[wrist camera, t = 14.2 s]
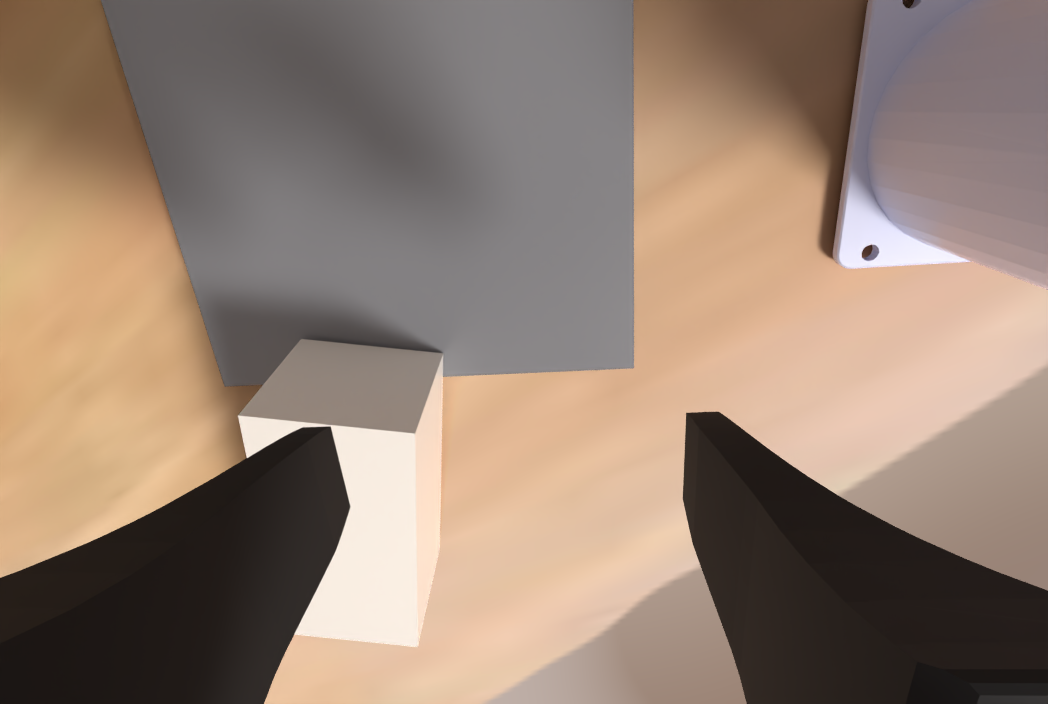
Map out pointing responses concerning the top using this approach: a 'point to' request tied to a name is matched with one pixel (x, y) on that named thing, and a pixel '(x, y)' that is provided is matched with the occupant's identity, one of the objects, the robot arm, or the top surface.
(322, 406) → the cover
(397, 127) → the plate
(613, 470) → the top surface
